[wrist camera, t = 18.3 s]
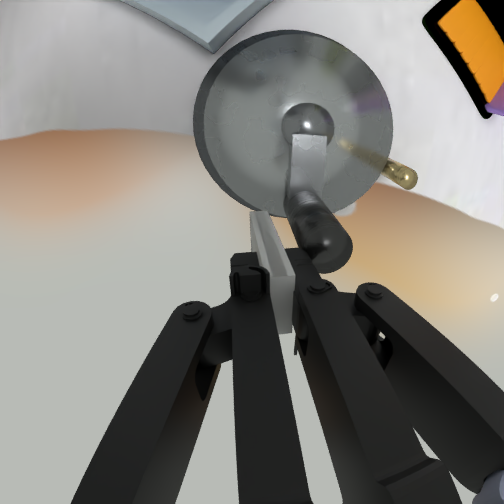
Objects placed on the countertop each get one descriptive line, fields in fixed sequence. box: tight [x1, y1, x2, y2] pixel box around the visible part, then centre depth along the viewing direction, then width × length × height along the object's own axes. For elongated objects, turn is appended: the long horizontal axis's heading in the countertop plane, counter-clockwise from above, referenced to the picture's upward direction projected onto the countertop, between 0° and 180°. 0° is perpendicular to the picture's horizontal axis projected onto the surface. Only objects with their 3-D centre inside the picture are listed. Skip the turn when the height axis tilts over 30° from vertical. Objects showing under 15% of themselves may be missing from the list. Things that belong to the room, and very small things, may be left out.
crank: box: [204, 34, 393, 274], centre depth 13 cm, size 12×12×8 cm
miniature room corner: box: [422, 0, 504, 119], centre depth 9 cm, size 12×12×7 cm
